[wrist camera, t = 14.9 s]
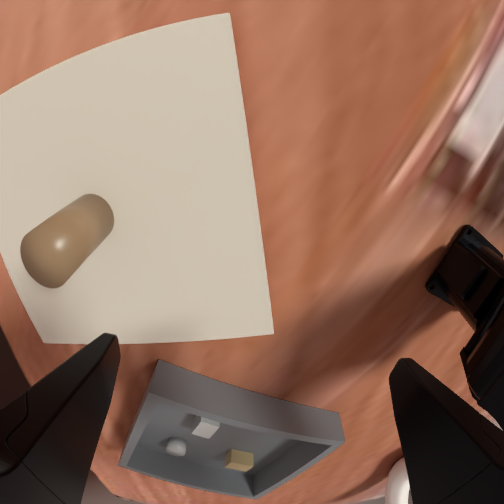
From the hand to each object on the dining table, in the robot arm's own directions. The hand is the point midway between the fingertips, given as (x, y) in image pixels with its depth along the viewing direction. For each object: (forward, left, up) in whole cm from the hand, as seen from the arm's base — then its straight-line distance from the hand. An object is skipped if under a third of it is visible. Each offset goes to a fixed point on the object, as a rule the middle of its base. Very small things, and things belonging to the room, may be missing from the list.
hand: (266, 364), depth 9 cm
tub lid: (+10, +4, -13) cm, 17 cm away
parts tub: (-8, +26, -13) cm, 30 cm away
